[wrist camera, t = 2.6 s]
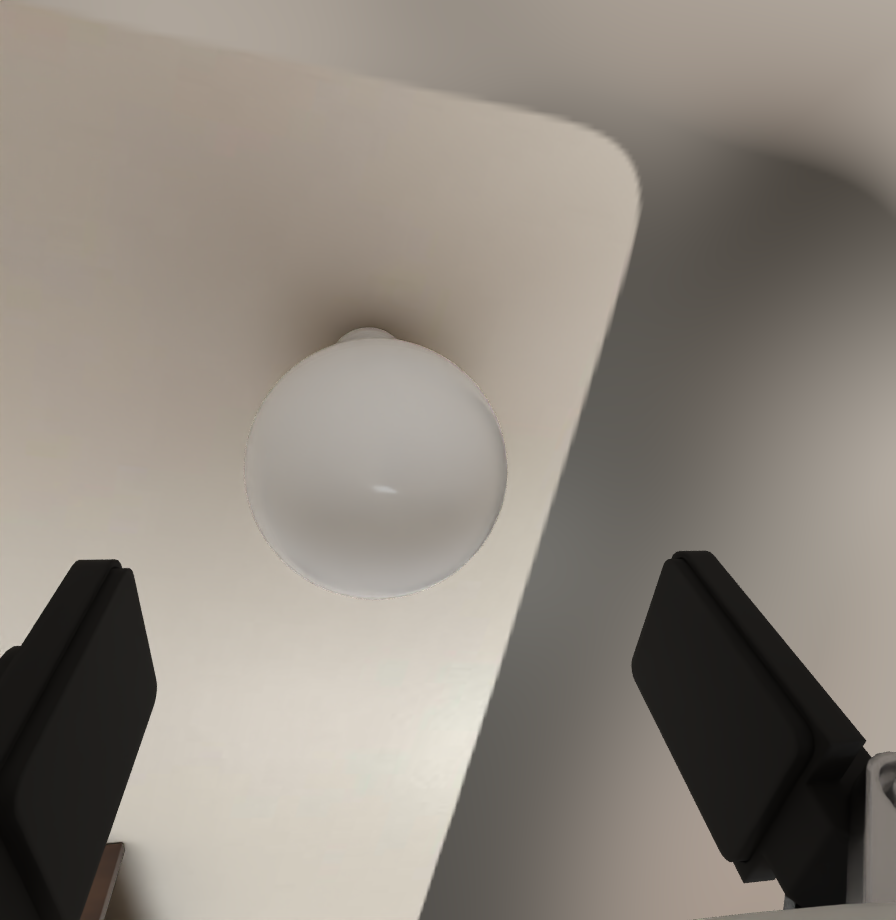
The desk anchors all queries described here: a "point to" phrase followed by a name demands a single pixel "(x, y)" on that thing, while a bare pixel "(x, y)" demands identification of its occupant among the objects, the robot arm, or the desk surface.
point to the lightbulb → (375, 467)
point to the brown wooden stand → (103, 883)
